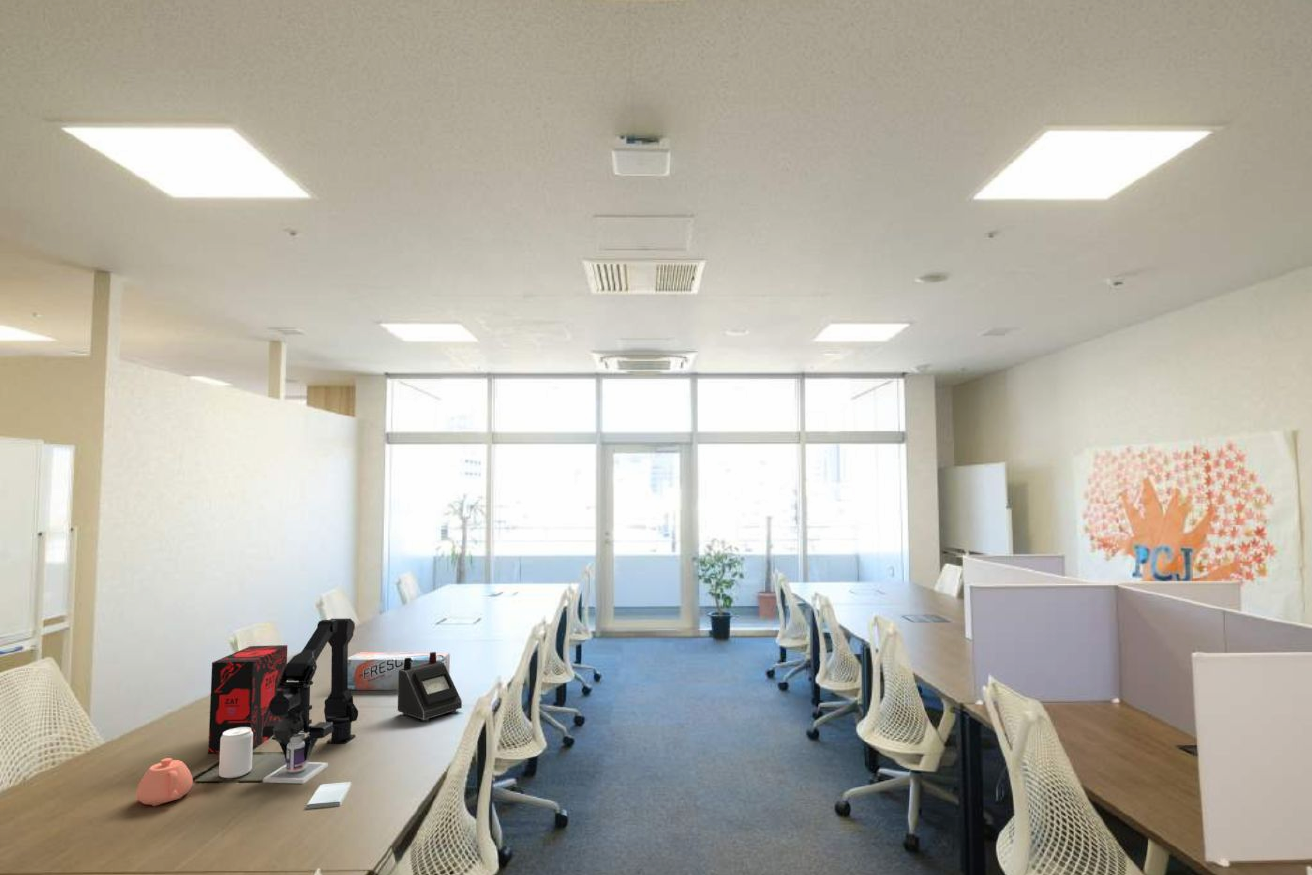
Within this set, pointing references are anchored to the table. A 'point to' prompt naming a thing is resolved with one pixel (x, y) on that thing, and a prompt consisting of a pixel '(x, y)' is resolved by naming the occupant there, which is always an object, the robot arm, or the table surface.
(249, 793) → the table surface
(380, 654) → the soda box
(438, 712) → the voltmeter
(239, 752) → the beverage can
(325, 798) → the hard drive
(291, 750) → the pill bottle
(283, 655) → the box
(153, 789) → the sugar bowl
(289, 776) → the base slab
